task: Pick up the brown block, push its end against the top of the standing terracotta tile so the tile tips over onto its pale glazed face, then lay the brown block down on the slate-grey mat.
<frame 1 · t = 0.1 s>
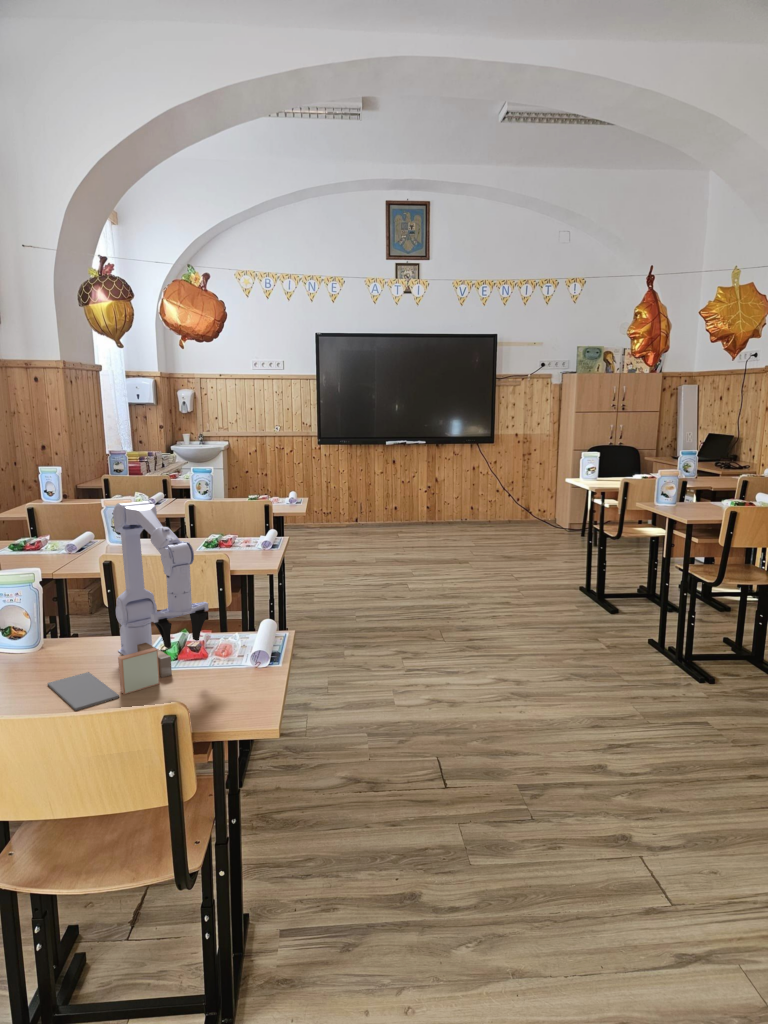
hand: (182, 643, 163), 10 cm above the table, tool pointing down, fingers open, 7 cm apart
mat: (82, 691, 158), on the table
tile: (140, 688, 160), on the table
brown block: (153, 668, 173), on the table
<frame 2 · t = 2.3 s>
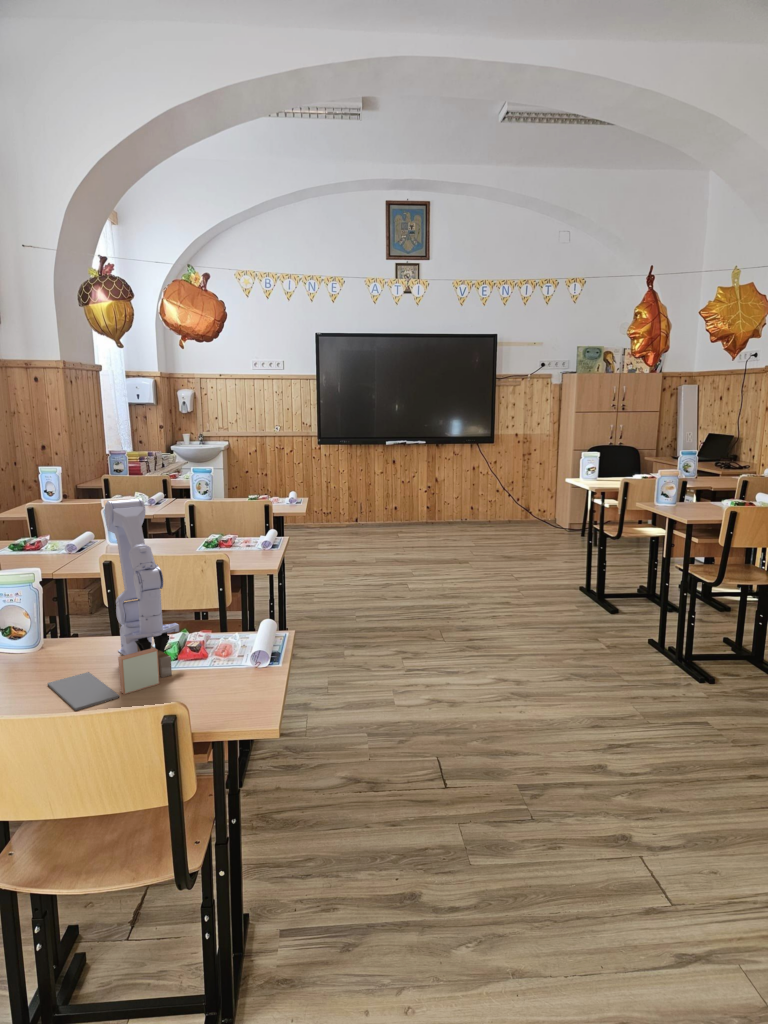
hand: (153, 662, 172), 1 cm above the table, tool pointing down, fingers closed on brown block, 2 cm apart
brown block: (153, 667, 173), on the table, touching gripper
everything else where it was.
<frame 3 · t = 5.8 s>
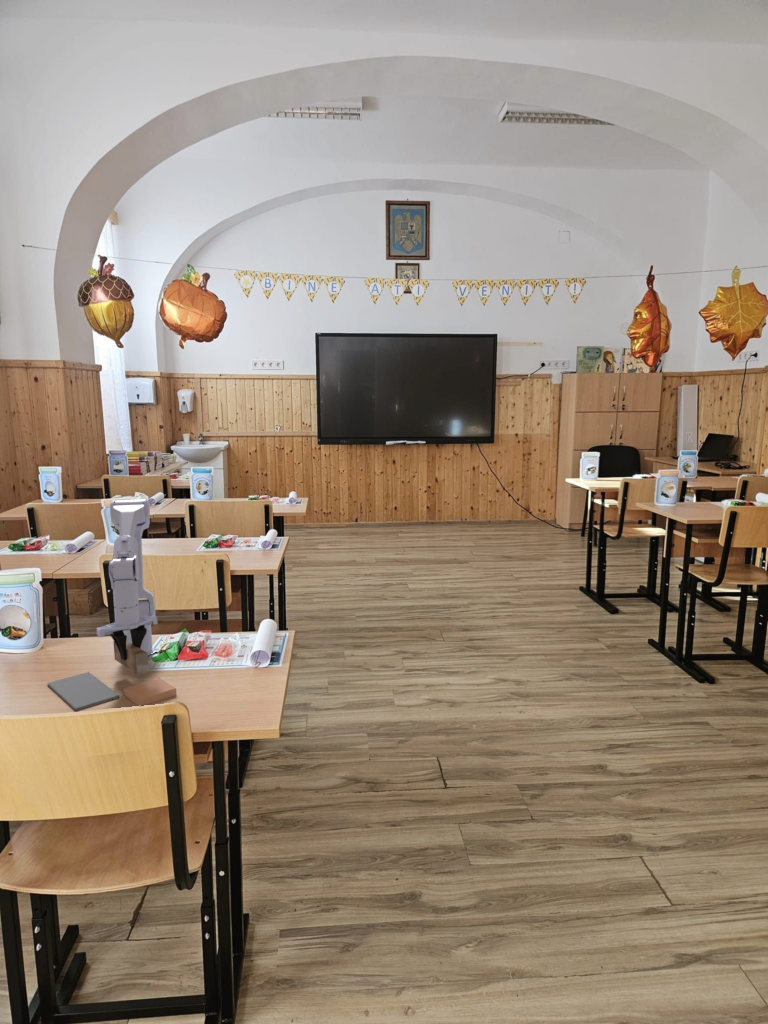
hand: (129, 657, 163), 6 cm above the table, tool pointing down, fingers closed on brown block, 2 cm apart
tile: (142, 686, 159), point 1 cm above the table, tilted 90°
brown block: (130, 665, 163), point 4 cm above the table, touching gripper
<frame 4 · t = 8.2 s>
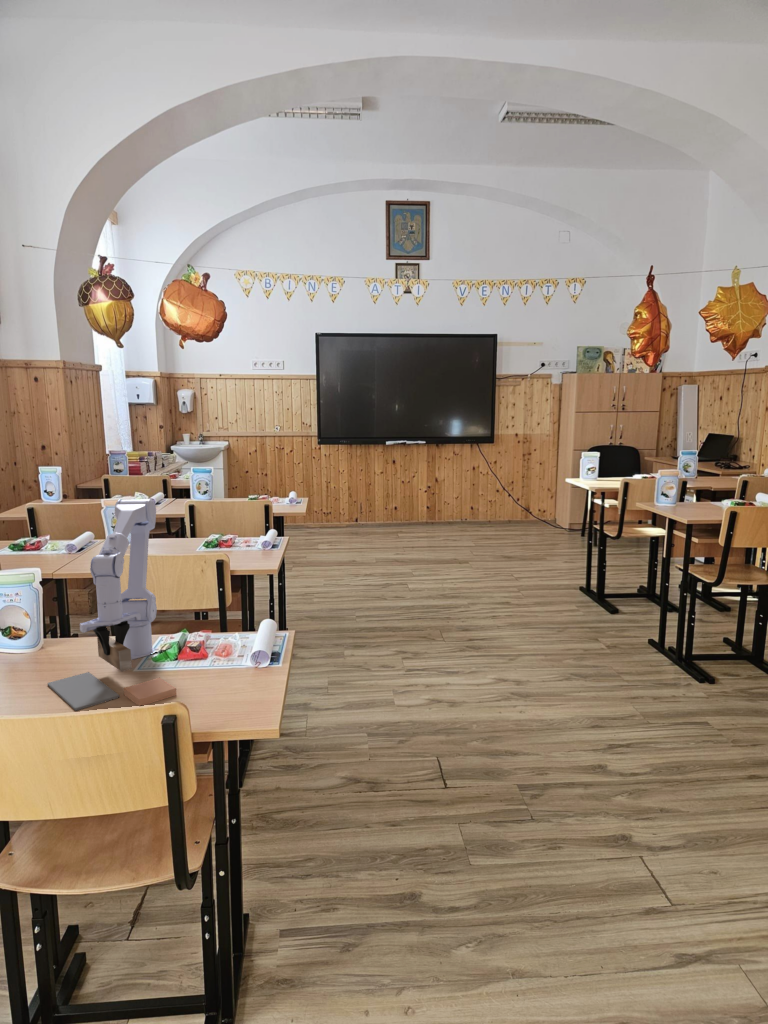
hand: (113, 652, 165), 7 cm above the table, tool pointing down, fingers closed on brown block, 2 cm apart
brown block: (114, 661, 165), point 4 cm above the table, touching gripper
everything else where it was.
when the fingers open (3 cm above the table, at t = 9.9 s): brown block stays where it is, resting on mat.
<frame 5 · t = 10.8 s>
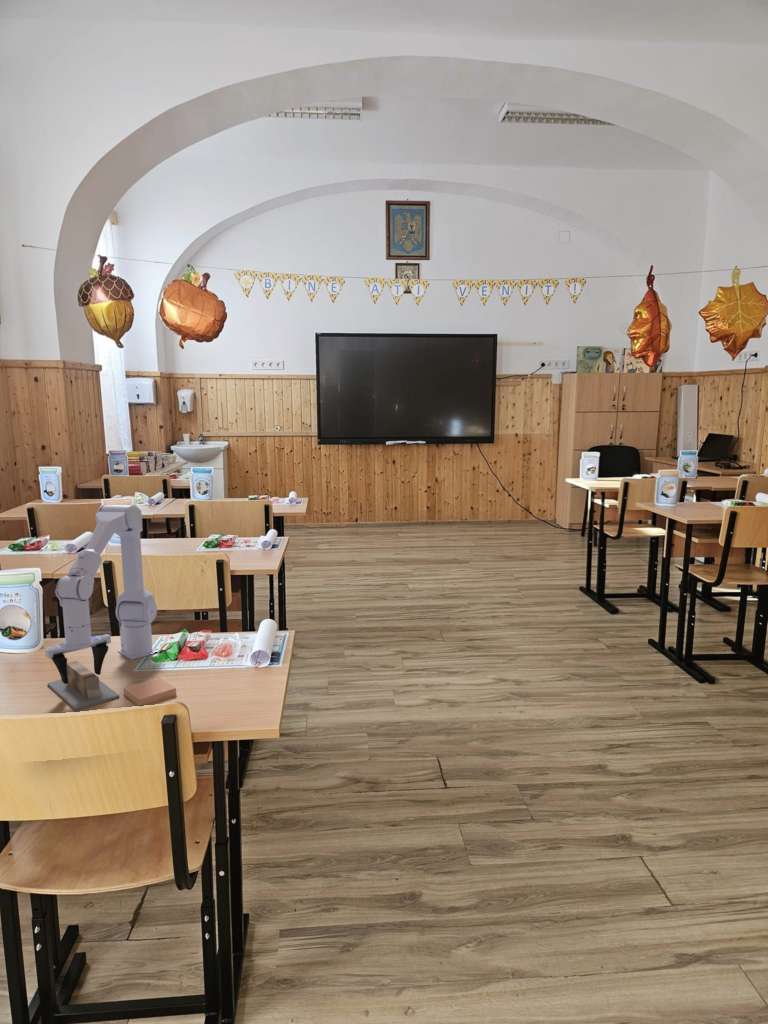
hand: (81, 678, 158), 3 cm above the table, tool pointing down, fingers open, 7 cm apart
brown block: (82, 689, 158), point 1 cm above the table, touching mat
everything else where it was.
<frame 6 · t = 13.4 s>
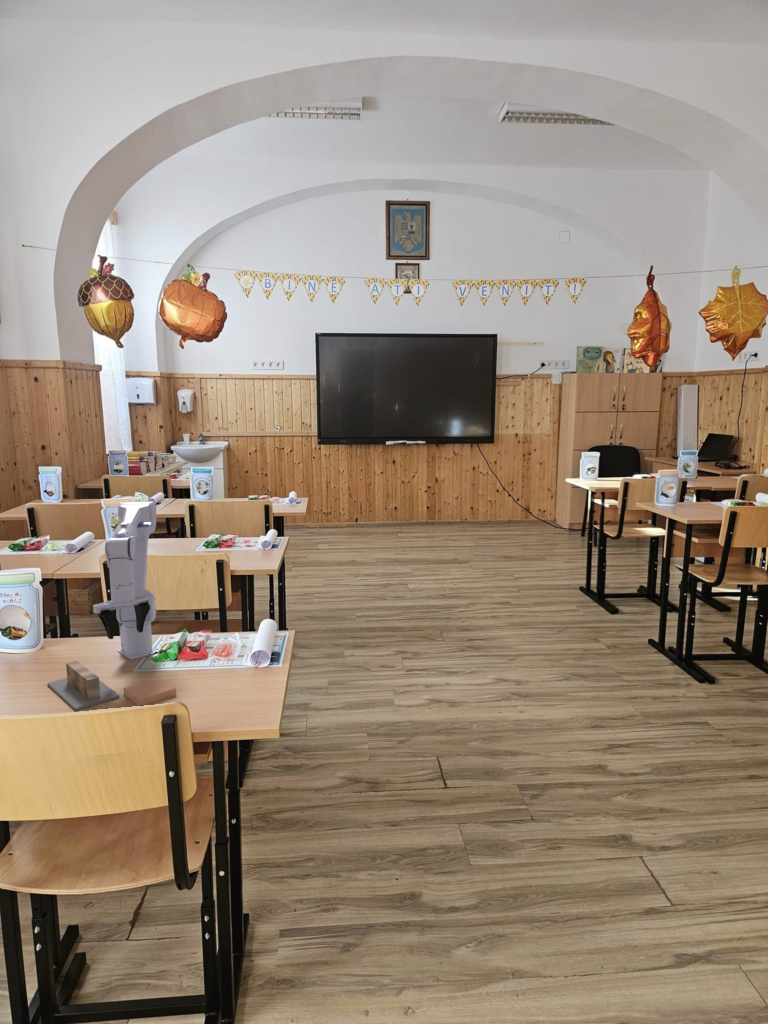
hand: (125, 634, 168), 10 cm above the table, tool pointing down, fingers open, 7 cm apart
nothing on the table moved.
at the end: tile tilted 90°; brown block inside the target area on the mat (0.2 cm from its centre), point 0.6 cm above the mat's base; the gripper is holding nothing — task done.
